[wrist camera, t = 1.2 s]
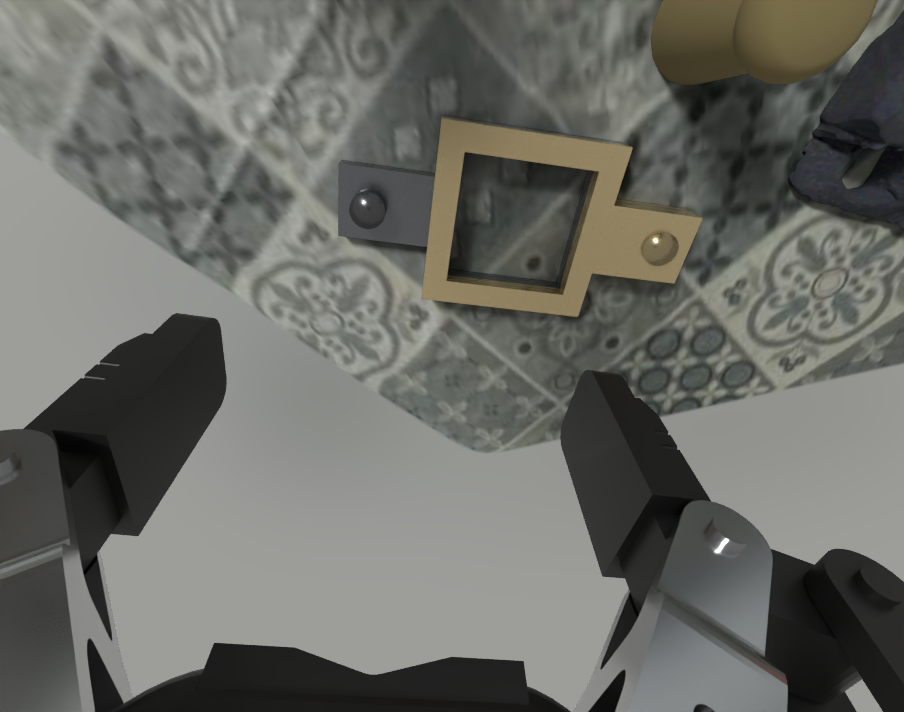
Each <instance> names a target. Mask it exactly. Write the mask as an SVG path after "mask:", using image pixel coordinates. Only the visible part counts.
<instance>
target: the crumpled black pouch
mask: <svg viewBox="0 0 904 712" xmlns="http://www.w3.org/2000/svg"><path fill="white" fill-rule="evenodd" d="M820 121H821V123H820V125H819V126H818V128H816V129H815V130H814V131H813V133H814V134H815V135H816V136H815V138H813V139H811V141H810V143H809V144H808V145H807V146H806V147H805V148H804V150H803V153H804V154H805V156H804V157H803V158H802V159H801V160H800V162H799V163H798V164H797V166H796V169H795V171H794V172H793V173H792V174H791V175H790V181H791V182H792V184H793V187H794V190H795V191H797V192H798V193H799V194H801V195H808V196H809V197H810V198H811V199H812V200H814V201H816V202H818V203H821V204H829V205H831V206H834V207H839V208H841V209H842V210H844V211H847V212H852V213H855V214H858V215H862V216H865V217H871V218H873V219H877V220H885V221H886V222H888V223H896V224H897V225H898V226H899V227H900V228H901V229H903V230H904V11H903V12H902V13H901V15H900V16H899V17H898V19H897V20H896V21H895V23H894V24H893V25H892V26H891V27H889V28H888V29H887V30H886V31H885V32H884V33H883V34H882V35H880V36H879V37H877V38H876V39H875V40H874V41H873V42H872V43H871V44H870V45H869V46H868V48H867V49H866V50H865V52H864V53H863V54H862V56H861V57H860V58H859V60H858V61H857V62H856V64H855V65H854V66H853V67H852V69H851V70H850V72H849V74H848V75H847V77H846V79H845V80H844V81H843V83H842V84H841V85H840V87H839V88H838V90H837V91H836V93H835V94H834V96H833V97H832V98H831V100H830V101H829V102H828V104H827V105H826V107H825V108H824V110H823V112H822V114H821V116H820ZM821 137H822V139H823V140H820V139H819V138H821ZM869 147H870V148H872V149H876V150H877V149H881V148H884V147H886V149H885V150H884V152H883V153H882V155H881V157H880V159H879V160H878V162H877V164H876V165H875V167H874V169H873V171H872V173H871V174H870V175H869V177H868V178H867V180H866V181H865V183H864V184H863V185H862V186H860V187H856V188H852V189H846V187H845V185H844V183H843V182H842V176H843V174H844V172H845V171H846V170H847V169H848V168H849V167H850V166H851V165H852V163H853V162H854V160H855V159H856V158H857V157H858V156H859V155H860V153H861V152H862V150H864V149H866V148H869Z"/></svg>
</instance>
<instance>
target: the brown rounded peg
mask: <svg viewBox="0 0 904 712" xmlns="http://www.w3.org/2000/svg"><path fill="white" fill-rule="evenodd" d="M876 3H877V0H663V1H662V4H661V6H660V8H659V11H658V13H657V15H656V18H655V20H654V25H653V30H652V36H651V46H652V56H653V59H654V61H655V63H656V66H657V68H658V70H659V72H660V73H661V74H663V75H664V76H665V77H666V78H667V79H668V80H669V81H671V82H674V83H677V84H679V85H697V84H702V83H707V82H711V81H716V80H721V79H725V78H730V77H735V76H739V75H744V74H749V75H751V76H752V77H753V78H756V79H758V80H761V81H764V82H766V83H771V84H789V83H795V82H798V81H801V80H804V79H807V78H809V77H812V76H815V75H818V74H820V73H821V72H823V71H824V70H826V69H827V68H829V67H830V66H831V65H833V64H834V63H836V62H837V61H838V60H839V59H840V58H841V57H842V56H843V55H844V54H845V53H846V52H847V51H848V50H849V49H850V48H851V47H852V46H853V45H854V44H855V43H856V42H857V41H858V39H859V37H860V36H861V34H862V33H863V31H864V30H865V28H866V26H867V25H868V23H869V22H870V19H871V16H872V14H873V11H874V9H875V6H876Z"/></svg>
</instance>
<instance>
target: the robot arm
mask: <svg viewBox="0 0 904 712" xmlns="http://www.w3.org/2000/svg"><path fill="white" fill-rule="evenodd" d="M225 392H226V370H225V361H224V353H223V345H222V335H221V328H220V324H219V322H218V320H216V319H215V318H208V317H201V316H194V315H187V314H179V313H176V314H174V315H172V316H171V317H170V318H169V319H168V320H167V321H166V322H164V323H163V324H162V325H161V327H159V328H158V329H157V330H156V331H155V332H154V333H153V334H147V333H144V334H142V335H139V336H137V337H135V338H133V339H131V340H129V341H127V342H124V343H122V344H120V345H118V346H117V347H116V348H115V349H113V350H112V351H111V352H110V353H109V354H108V355H107V356H106V357H104V358H103V359H102V360H101V361H100V365H95V366H94V367H93V368H92V369H91V370H90V371H88V372H87V373H86V374H85V378H84V379H82V378H81V379H79V380H78V381H77V382H76V383H75V384H74V385H73V386H71V387H70V388H69V389H68V390H67V391H66V392H65V393H64V394H62V395H61V396H60V397H59V398H58V399H57V400H56V401H55V402H53V403H52V404H51V405H50V406H49V407H48V408H47V409H46V410H44V411H43V412H42V413H41V414H40V415H39V416H37V417H36V418H35V419H34V420H33V421H32V422H31V423H30V424H28V425H27V426H26V427H25V428H24V429H12V430H3V431H0V712H570V711H569V710H568V709H567V708H565V707H564V706H562V705H561V704H559V703H558V702H556V701H555V700H554V699H552V698H550V697H548V696H547V695H545V694H543V693H541V692H539V691H537V690H535V689H533V688H530V687H527V683H526V676H525V669H524V662H523V661H510V660H494V659H477V658H461V657H450V658H446V659H441V660H437V661H433V662H429V663H425V664H421V665H416V666H412V667H409V668H404V669H400V670H396V671H392V672H387V673H384V674H378V675H369V674H365V673H362V672H359V671H356V670H354V669H351V668H348V667H346V666H343V665H340V664H337V663H335V662H332V661H329V660H327V659H324V658H321V657H319V656H316V655H313V654H310V653H307V652H305V651H302V650H300V649H297V648H291V647H274V646H258V645H241V644H224V643H214V645H213V647H212V650H211V652H210V655H209V658H208V660H207V663H206V665H205V668H204V669H201V670H196V671H192V672H189V673H186V674H183V675H180V676H178V677H175V678H172V679H169V680H167V681H165V682H163V683H161V684H158V685H157V686H154V687H152V688H150V689H148V690H146V691H144V692H142V693H141V694H139V695H137V696H136V697H134V698H133V696H132V693H131V688H130V685H129V682H128V678H127V675H126V672H125V669H124V665H123V662H122V658H121V654H120V649H119V645H118V640H117V635H116V629H115V624H114V619H113V614H112V609H111V603H110V598H109V593H108V588H107V583H106V578H105V573H104V568H103V562H102V558H101V555H100V553H99V550H100V549H101V547H102V546H103V544H104V543H105V541H106V540H107V538H108V537H109V535H110V534H120V535H131V536H139V534H140V533H141V531H142V529H143V528H144V526H145V525H146V523H147V522H148V520H149V518H150V517H151V515H152V514H153V512H154V510H155V509H156V507H157V506H158V504H159V503H160V501H161V499H162V498H163V496H164V495H165V493H166V492H167V490H168V488H169V487H170V485H171V484H172V482H173V481H174V479H175V477H176V476H177V474H178V473H179V471H180V470H181V468H182V466H183V465H184V463H185V462H186V460H187V459H188V457H189V455H190V454H191V452H192V451H193V449H194V448H195V446H196V444H197V443H198V441H199V440H200V438H201V436H202V435H203V433H204V432H205V430H206V429H207V427H208V426H209V424H210V422H211V421H212V419H213V418H214V416H215V414H216V413H217V411H218V410H219V408H220V406H221V404H222V402H223V399H224V396H225ZM561 446H562V450H563V453H564V456H565V459H566V462H567V465H568V469H569V472H570V475H571V478H572V481H573V485H574V488H575V491H576V494H577V497H578V500H579V504H580V507H581V510H582V513H583V516H584V519H585V523H586V526H587V529H588V532H589V535H590V538H591V542H592V545H593V548H594V551H595V554H596V557H597V560H598V564H599V567H600V570H601V573H602V576H603V577H616V578H625V579H626V582H627V584H628V587H629V590H628V592H627V593H626V594H625V596H624V598H623V600H622V602H621V605H620V607H619V610H618V612H617V615H616V617H615V620H614V622H613V624H612V627H611V629H610V632H609V634H608V637H607V639H606V642H605V644H604V647H603V649H602V652H601V654H600V656H599V659H598V661H597V664H596V666H595V669H594V671H593V674H592V676H591V678H590V681H589V683H588V685H587V687H586V689H585V691H584V692H583V694H582V696H581V698H580V700H579V701H578V703H577V705H576V707H575V709H574V711H573V712H856V710H855V708H854V707H853V705H852V703H851V702H850V700H849V698H848V696H847V695H846V693H845V691H846V690H847V689H849V688H850V687H852V686H853V685H854V684H856V683H857V682H859V681H860V680H862V679H863V681H864V682H865V684H866V686H867V687H868V689H869V690H870V692H871V693H872V695H873V696H874V698H875V700H876V701H877V703H878V704H879V706H880V707H881V709H882V711H883V712H904V582H903V581H902V580H901V579H899V578H898V577H897V576H896V575H895V574H893V573H892V572H891V571H889V570H888V569H887V568H885V567H884V566H882V565H880V564H879V563H877V562H876V561H874V560H872V559H870V558H868V557H866V556H864V555H861V554H859V553H856V552H853V551H850V550H845V549H833V550H830V551H828V552H827V553H826V554H825V555H824V556H823V557H822V558H821V559H820V560H819V561H818V562H817V563H816V564H815V565H813V564H810V563H808V562H805V561H803V560H800V559H797V558H794V557H791V556H789V555H786V554H783V553H781V552H778V551H775V550H772V549H770V547H769V545H768V543H767V541H766V540H765V538H764V537H763V535H762V534H761V533H760V532H759V530H758V529H756V527H755V526H754V525H752V524H751V523H750V522H749V521H748V520H747V519H746V518H744V517H743V516H741V515H740V514H738V513H737V512H735V511H734V510H732V509H730V508H728V507H726V506H724V505H721V504H718V503H715V502H711V500H710V499H709V497H708V496H707V494H706V492H705V491H704V489H703V488H702V486H701V484H700V483H699V481H698V479H697V478H696V476H695V475H694V473H693V471H692V470H691V468H690V466H689V465H688V463H687V462H686V460H685V458H684V457H683V455H682V453H681V452H680V450H677V445H676V444H675V442H674V440H673V439H672V437H671V436H670V435H668V431H667V429H666V427H665V426H664V424H663V423H662V421H661V419H660V418H659V416H658V414H656V413H655V412H654V411H653V410H652V409H651V408H650V407H649V406H648V405H647V404H645V403H644V402H643V401H642V400H641V399H640V398H635V397H634V395H633V394H632V392H631V390H630V389H629V387H628V385H627V383H626V382H625V380H624V378H623V377H622V376H621V375H620V374H615V373H608V372H600V371H593V370H586V371H585V372H584V373H583V374H582V376H581V378H580V380H579V382H578V385H577V387H576V390H575V392H574V395H573V397H572V400H571V402H570V405H569V407H568V410H567V412H566V415H565V417H564V420H563V423H562V427H561Z"/></svg>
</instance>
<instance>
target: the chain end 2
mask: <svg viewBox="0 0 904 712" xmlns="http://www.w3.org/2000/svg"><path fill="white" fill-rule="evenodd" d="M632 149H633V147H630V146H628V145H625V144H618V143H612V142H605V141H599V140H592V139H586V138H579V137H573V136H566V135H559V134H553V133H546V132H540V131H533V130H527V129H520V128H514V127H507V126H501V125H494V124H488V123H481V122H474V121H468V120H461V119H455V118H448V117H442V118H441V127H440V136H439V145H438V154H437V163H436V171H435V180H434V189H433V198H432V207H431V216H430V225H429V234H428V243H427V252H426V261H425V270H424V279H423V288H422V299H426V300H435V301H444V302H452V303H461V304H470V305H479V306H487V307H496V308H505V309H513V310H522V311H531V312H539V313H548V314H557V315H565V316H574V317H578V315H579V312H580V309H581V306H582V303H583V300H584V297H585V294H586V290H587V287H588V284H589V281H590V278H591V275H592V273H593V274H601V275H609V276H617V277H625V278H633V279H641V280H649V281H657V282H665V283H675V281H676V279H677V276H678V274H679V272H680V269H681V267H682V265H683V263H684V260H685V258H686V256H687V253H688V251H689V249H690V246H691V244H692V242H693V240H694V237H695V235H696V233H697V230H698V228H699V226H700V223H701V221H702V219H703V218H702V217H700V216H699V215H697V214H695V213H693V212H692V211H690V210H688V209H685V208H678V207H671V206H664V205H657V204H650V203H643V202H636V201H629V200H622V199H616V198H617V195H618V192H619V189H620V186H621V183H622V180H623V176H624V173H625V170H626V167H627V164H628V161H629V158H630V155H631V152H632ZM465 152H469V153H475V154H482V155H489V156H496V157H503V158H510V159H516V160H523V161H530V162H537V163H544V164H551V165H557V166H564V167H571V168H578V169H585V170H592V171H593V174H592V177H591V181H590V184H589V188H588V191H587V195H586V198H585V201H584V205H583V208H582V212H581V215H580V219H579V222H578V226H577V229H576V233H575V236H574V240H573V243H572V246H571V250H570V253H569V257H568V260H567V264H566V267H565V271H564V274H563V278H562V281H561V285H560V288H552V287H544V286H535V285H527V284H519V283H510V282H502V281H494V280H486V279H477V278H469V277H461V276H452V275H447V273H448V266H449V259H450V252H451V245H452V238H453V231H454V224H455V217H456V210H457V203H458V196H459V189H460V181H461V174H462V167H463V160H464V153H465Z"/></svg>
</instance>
